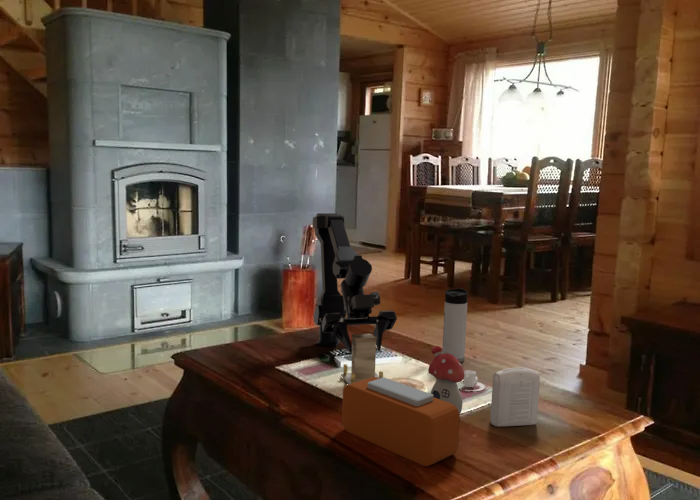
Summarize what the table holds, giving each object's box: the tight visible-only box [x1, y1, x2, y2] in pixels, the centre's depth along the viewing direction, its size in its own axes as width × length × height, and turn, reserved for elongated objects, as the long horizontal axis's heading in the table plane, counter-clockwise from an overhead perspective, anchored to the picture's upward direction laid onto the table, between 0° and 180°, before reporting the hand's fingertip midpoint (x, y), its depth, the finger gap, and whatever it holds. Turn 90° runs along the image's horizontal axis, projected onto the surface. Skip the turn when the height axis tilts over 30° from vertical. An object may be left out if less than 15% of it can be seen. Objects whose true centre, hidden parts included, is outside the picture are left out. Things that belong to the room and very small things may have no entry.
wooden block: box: [350, 332, 377, 382], centre depth 167 cm, size 4×5×11 cm
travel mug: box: [441, 287, 468, 363], centre depth 187 cm, size 6×7×20 cm
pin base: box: [340, 363, 384, 385], centre depth 167 cm, size 9×9×3 cm
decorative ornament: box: [428, 345, 465, 414], centre depth 146 cm, size 9×6×15 cm
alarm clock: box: [341, 377, 461, 467], centre depth 132 cm, size 24×8×11 cm, turn 44°
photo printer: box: [489, 366, 541, 427], centre depth 143 cm, size 10×4×12 cm, turn 103°
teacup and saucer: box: [463, 369, 486, 393], centre depth 166 cm, size 9×8×4 cm
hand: (365, 351), depth 165 cm, fingers open, 7 cm apart
